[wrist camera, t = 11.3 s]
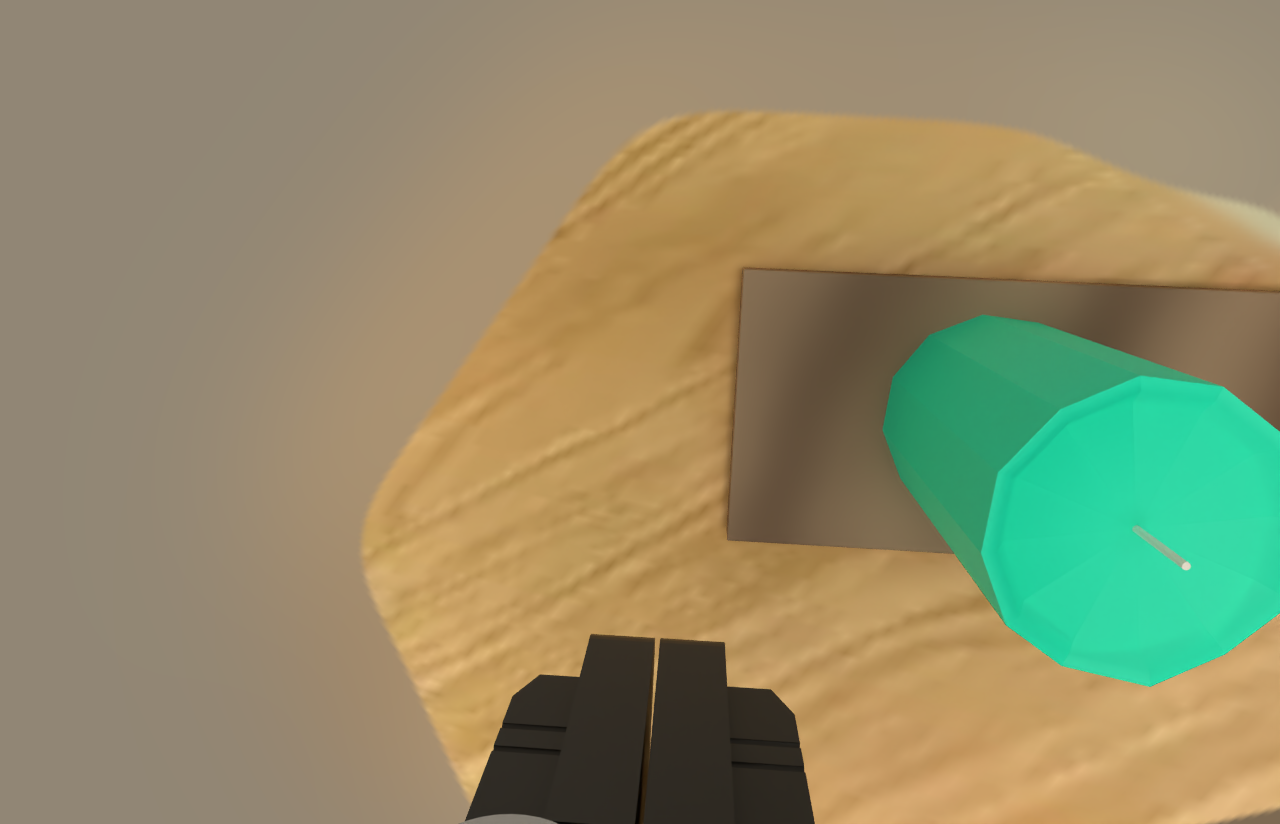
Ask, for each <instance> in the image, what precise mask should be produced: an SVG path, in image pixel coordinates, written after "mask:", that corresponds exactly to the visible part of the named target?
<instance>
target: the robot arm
mask: <svg viewBox="0 0 1280 824" xmlns="http://www.w3.org/2000/svg"><path fill="white" fill-rule="evenodd" d="M654 655H655V638H644V637H629V636H613V635H597V634H591V635H590V639H589V643H588V646H587V650H586V654H585V658H584V662H583V666H582V670H581V674H580V677H569V676H554V675H539V676H538V677H536V678H535V679H534V680H533V681H531V682H530V683H529V684H527V685H526V686H525V687H524V688H522V689H521V690H520V691H519V692H517V693H516V694H515V695H513V697H512V699H511V702H510V705H509V707H508V710H507V712H506V715H505V718H504V720H503V724H502V728H500V731H499V733H498V736H497V738H496V741H495V744H494V750H493V751H492V752H491V754H490V757H489V759H488V762H487V765H486V767H485V770H484V772H483V775H482V778H481V780H480V783H479V786H478V788H477V791H476V793H475V796H474V799H473V801H472V804H471V806H470V809H469V812H468V814H467V817H466V820H465V822H463V823H460V824H815V822H814V817H813V811H812V806H811V800H810V795H809V790H808V784H807V779H806V774H805V772H804V763H803V757H802V752H801V748H800V741H799V736H798V731H797V725H796V720H795V715H794V714H793V712H792V711H791V710H790V709H789V708H788V707H787V706H786V705H785V704H784V703H783V702H782V701H781V700H780V699H779V698H778V697H777V696H776V694H775V693H774V692H773V691H772V690H770V689H755V688H740V687H727V676H726V658H725V643H724V642H710V641H694V640H679V639H663V638H661V639H660V648H659V659H658V670H657V681H656V692H655V703H654V714H653V725H652V736H651V718H652V697H653V676H654ZM650 739H651V747H650Z"/></svg>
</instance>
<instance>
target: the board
mask: <svg viewBox="0 0 1280 824" xmlns="http://www.w3.org/2000/svg"><path fill="white" fill-rule="evenodd" d="M980 315H989V316H996V317H1003V318H1010V319H1017V320H1023V321H1030V322H1037V323H1041V324H1044V325H1047V326H1049V327H1052V328H1055V329H1058V330H1061V331H1064V332H1067V333H1070V334H1073V335H1075V336H1078V337H1081V338H1084V339H1087V340H1090V341H1093V342H1096V343H1099V344H1101V345H1104V346H1107V347H1110V348H1113V349H1116V350H1119V351H1122V352H1125V353H1127V354H1130V355H1133V356H1136V357H1139V358H1142V359H1145V360H1148V361H1151V362H1153V363H1156V364H1159V365H1162V366H1165V367H1168V368H1171V369H1174V370H1177V371H1179V372H1182V373H1185V374H1188V375H1191V376H1194V377H1197V378H1200V379H1203V380H1205V381H1208V382H1211V383H1214V384H1217V385H1220V386H1223V387H1225V388H1226V389H1227V390H1228V391H1230V392H1231V393H1232V394H1233V395H1235V396H1236V397H1237V398H1238V399H1240V400H1241V401H1242V402H1243V403H1244V404H1246V405H1247V406H1248V407H1249V408H1251V409H1252V410H1253V411H1254V412H1256V413H1257V414H1258V415H1259V416H1261V417H1262V418H1263V419H1264V420H1266V421H1267V422H1268V423H1269V424H1271V425H1272V426H1273V427H1274V428H1276V429H1277V430H1278V431H1279V432H1280V291H1258V290H1236V289H1213V288H1191V287H1169V286H1146V285H1124V284H1101V283H1079V282H1057V281H1034V280H1012V279H989V278H967V277H945V276H922V275H900V274H877V273H855V272H833V271H810V270H788V269H766V268H743V271H742V287H741V304H740V320H739V337H738V353H737V369H736V386H735V402H734V419H733V435H732V451H731V468H730V484H729V501H728V517H727V540H732V541H749V542H766V543H783V544H799V545H816V546H833V547H850V548H867V549H884V550H901V551H917V552H934V553H951V554H954V552H953V551H952V550H951V548H950V547H949V545H948V544H947V543H946V541H945V540H944V538H943V537H942V536H941V534H940V533H939V532H938V530H937V529H936V527H935V526H934V525H933V523H932V522H931V520H930V519H929V518H928V516H927V515H926V514H925V512H924V511H923V509H922V508H921V507H920V505H919V504H918V502H917V501H916V500H915V498H914V497H913V495H912V494H911V493H910V491H909V490H908V489H907V487H906V486H905V484H904V483H903V482H902V480H901V479H900V476H899V474H898V471H897V468H896V465H895V463H894V460H893V457H892V455H891V452H890V449H889V446H888V444H887V441H886V438H885V436H884V433H883V425H884V419H885V414H886V409H887V404H888V399H889V394H890V389H891V384H892V379H893V376H894V375H895V374H896V373H897V372H898V371H899V369H900V368H901V367H902V366H903V365H904V364H905V363H906V361H907V360H908V359H909V358H910V357H911V356H912V354H913V353H914V352H915V351H916V350H917V349H918V347H919V346H920V345H921V344H922V343H923V342H924V340H925V339H926V338H927V337H928V336H929V335H930V334H933V333H936V332H938V331H941V330H943V329H946V328H949V327H951V326H954V325H957V324H959V323H962V322H965V321H967V320H970V319H972V318H975V317H978V316H980Z"/></svg>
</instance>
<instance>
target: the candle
mask: <svg viewBox="0 0 1280 824" xmlns="http://www.w3.org/2000/svg"><path fill="white" fill-rule="evenodd" d="M883 433H884V436H885V438H886V441H887V444H888V446H889V449H890V452H891V455H892V457H893V460H894V463H895V465H896V468H897V471H898V474H899V476H900V479H901V480H902V482H903V483H904V484H905V486H906V487H907V489H908V490H909V491H910V493H911V494H912V495H913V497H914V498H915V500H916V501H917V502H918V504H919V505H920V507H921V508H922V509H923V511H924V512H925V514H926V515H927V516H928V518H929V519H930V520H931V522H932V523H933V525H934V526H935V527H936V529H937V530H938V532H939V533H940V534H941V536H942V537H943V538H944V540H945V541H946V543H947V544H948V545H949V547H950V548H951V550H952V551H953V552H954V554H955V555H956V557H957V558H958V559H959V561H960V562H961V563H962V565H963V566H964V568H965V569H966V570H967V572H968V573H969V575H970V576H971V577H972V579H973V580H974V582H975V583H976V584H977V586H978V587H979V588H980V590H981V591H982V593H983V594H984V595H985V597H986V598H987V600H988V601H989V602H990V604H991V605H992V606H993V608H994V609H995V611H996V612H997V613H998V615H999V616H1000V618H1001V619H1002V620H1003V622H1004V623H1005V625H1006V626H1008V627H1009V628H1010V629H1012V630H1013V631H1015V632H1016V633H1017V634H1019V635H1020V636H1021V637H1023V638H1024V639H1026V640H1027V641H1028V642H1030V643H1031V644H1032V645H1034V646H1035V647H1036V648H1038V649H1039V650H1041V651H1042V652H1043V653H1045V654H1046V655H1047V656H1049V657H1050V658H1052V659H1053V660H1054V661H1056V662H1057V663H1058V664H1060V665H1061V666H1064V667H1068V668H1072V669H1077V670H1081V671H1085V672H1089V673H1094V674H1098V675H1102V676H1106V677H1111V678H1115V679H1119V680H1123V681H1128V682H1132V683H1136V684H1140V685H1145V686H1149V687H1151V686H1153V685H1155V684H1158V683H1160V682H1162V681H1165V680H1167V679H1169V678H1172V677H1174V676H1176V675H1178V674H1181V673H1183V672H1185V671H1188V670H1190V669H1192V668H1195V667H1197V666H1199V665H1202V664H1204V663H1206V662H1209V661H1211V660H1213V659H1216V658H1218V657H1220V656H1222V655H1225V654H1226V653H1228V652H1229V651H1230V650H1232V649H1233V648H1234V647H1236V646H1237V645H1238V644H1240V643H1241V642H1242V641H1244V640H1245V639H1246V638H1248V637H1249V636H1250V635H1252V634H1253V633H1254V632H1256V631H1257V630H1258V629H1260V628H1261V627H1262V626H1264V625H1265V624H1266V623H1268V622H1269V621H1270V620H1272V619H1273V618H1274V617H1276V616H1277V615H1278V614H1280V432H1279V431H1278V430H1277V429H1276V428H1274V427H1273V426H1272V425H1271V424H1269V423H1268V422H1267V421H1266V420H1264V419H1263V418H1262V417H1261V416H1259V415H1258V414H1257V413H1256V412H1254V411H1253V410H1252V409H1251V408H1249V407H1248V406H1247V405H1246V404H1244V403H1243V402H1242V401H1241V400H1240V399H1238V398H1237V397H1236V396H1235V395H1233V394H1232V393H1231V392H1230V391H1228V390H1227V389H1226V388H1225V387H1223V386H1220V385H1217V384H1214V383H1211V382H1208V381H1205V380H1203V379H1200V378H1197V377H1194V376H1191V375H1188V374H1185V373H1182V372H1179V371H1177V370H1174V369H1171V368H1168V367H1165V366H1162V365H1159V364H1156V363H1153V362H1151V361H1148V360H1145V359H1142V358H1139V357H1136V356H1133V355H1130V354H1127V353H1125V352H1122V351H1119V350H1116V349H1113V348H1110V347H1107V346H1104V345H1101V344H1099V343H1096V342H1093V341H1090V340H1087V339H1084V338H1081V337H1078V336H1075V335H1073V334H1070V333H1067V332H1064V331H1061V330H1058V329H1055V328H1052V327H1049V326H1047V325H1044V324H1041V323H1037V322H1030V321H1023V320H1017V319H1010V318H1003V317H996V316H989V315H980V316H978V317H975V318H972V319H970V320H967V321H965V322H962V323H959V324H957V325H954V326H951V327H949V328H946V329H943V330H941V331H938V332H936V333H933V334H930V335H929V336H928V337H927V338H926V339H925V340H924V342H923V343H922V344H921V345H920V346H919V347H918V349H917V350H916V351H915V352H914V353H913V354H912V356H911V357H910V358H909V359H908V360H907V361H906V363H905V364H904V365H903V366H902V367H901V368H900V369H899V371H898V372H897V373H896V374H895V375H894V376H893V379H892V384H891V389H890V394H889V399H888V404H887V409H886V414H885V419H884V425H883Z"/></svg>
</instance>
